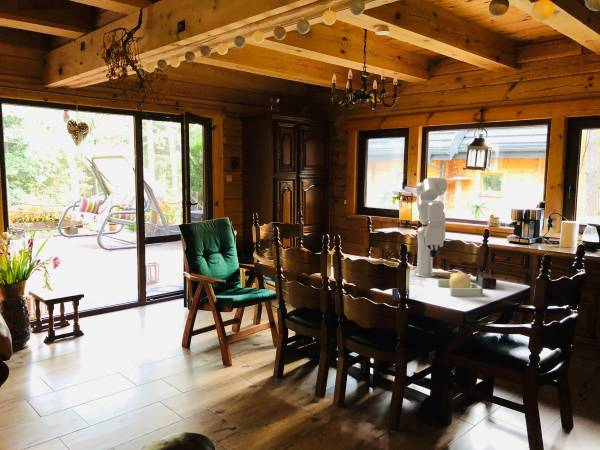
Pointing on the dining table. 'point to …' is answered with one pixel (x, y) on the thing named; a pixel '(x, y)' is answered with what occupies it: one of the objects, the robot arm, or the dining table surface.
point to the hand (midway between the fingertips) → (433, 256)
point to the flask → (397, 295)
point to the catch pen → (461, 289)
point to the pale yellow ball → (459, 280)
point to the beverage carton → (486, 280)
